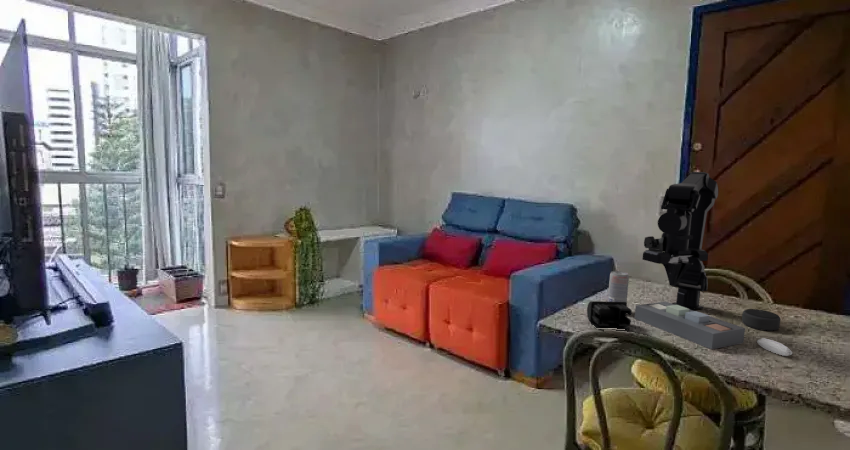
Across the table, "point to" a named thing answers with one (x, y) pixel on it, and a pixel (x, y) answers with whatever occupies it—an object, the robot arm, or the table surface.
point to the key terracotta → (718, 327)
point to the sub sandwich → (774, 347)
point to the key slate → (697, 317)
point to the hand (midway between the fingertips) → (672, 285)
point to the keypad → (690, 327)
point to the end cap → (609, 314)
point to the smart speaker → (761, 319)
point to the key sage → (677, 310)
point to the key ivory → (658, 306)
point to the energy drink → (618, 286)
